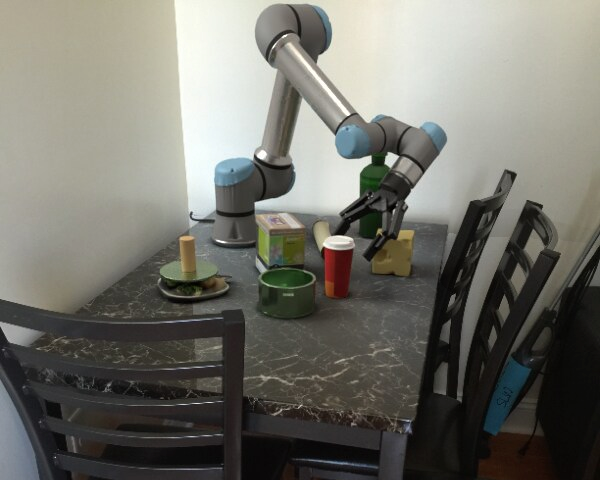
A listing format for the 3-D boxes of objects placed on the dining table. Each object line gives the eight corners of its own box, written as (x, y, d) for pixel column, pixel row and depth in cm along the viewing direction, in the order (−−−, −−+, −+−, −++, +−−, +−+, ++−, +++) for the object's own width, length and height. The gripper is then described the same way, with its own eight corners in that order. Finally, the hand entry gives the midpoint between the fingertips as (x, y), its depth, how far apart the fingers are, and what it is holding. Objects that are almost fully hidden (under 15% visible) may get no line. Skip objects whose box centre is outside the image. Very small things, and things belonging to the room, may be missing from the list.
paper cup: (355, 291, 166) (358, 237, 159) (347, 301, 160) (350, 246, 152) (326, 286, 168) (328, 233, 161) (317, 297, 162) (318, 242, 154)
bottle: (394, 233, 209) (403, 141, 195) (380, 242, 201) (388, 146, 187) (365, 228, 214) (371, 137, 199) (349, 236, 206) (355, 142, 192)
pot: (258, 323, 148) (258, 292, 144) (259, 292, 164) (258, 264, 160) (317, 323, 148) (318, 292, 144) (312, 292, 164) (313, 264, 160)
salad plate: (222, 272, 176) (221, 255, 173) (245, 295, 162) (245, 277, 160) (151, 281, 169) (149, 264, 166) (169, 306, 155) (168, 288, 152)
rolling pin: (310, 232, 209) (311, 216, 206) (328, 232, 209) (328, 216, 207) (320, 266, 181) (320, 248, 179) (340, 266, 182) (341, 248, 179)
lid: (156, 284, 156) (152, 247, 151) (164, 264, 168) (160, 229, 163) (216, 284, 156) (214, 247, 152) (220, 264, 169) (218, 229, 164)
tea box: (305, 282, 170) (306, 226, 163) (268, 285, 168) (267, 229, 160) (289, 263, 183) (290, 210, 175) (254, 266, 180) (253, 213, 172)
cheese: (409, 277, 175) (413, 241, 170) (369, 273, 177) (372, 237, 172) (411, 264, 184) (415, 229, 179) (373, 261, 186) (376, 226, 180)
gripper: (442, 201, 153) (389, 274, 154) (374, 181, 171) (326, 246, 171) (429, 181, 148) (373, 256, 148) (360, 162, 165) (310, 229, 166)
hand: (348, 251), depth 160 cm, fingers open, 13 cm apart
